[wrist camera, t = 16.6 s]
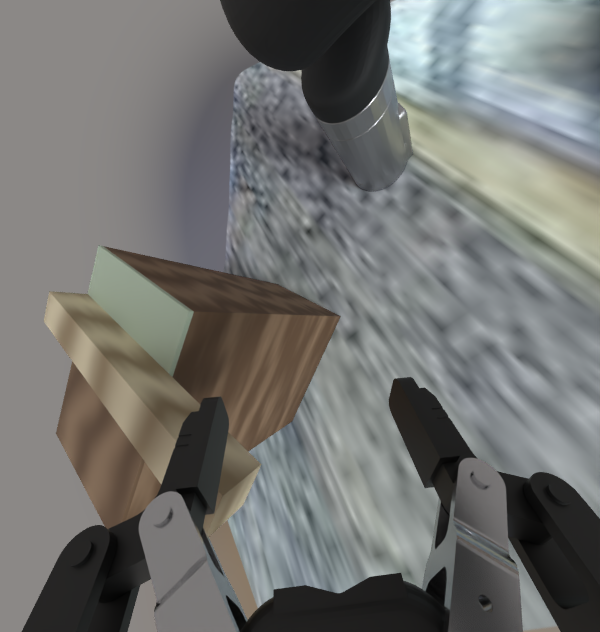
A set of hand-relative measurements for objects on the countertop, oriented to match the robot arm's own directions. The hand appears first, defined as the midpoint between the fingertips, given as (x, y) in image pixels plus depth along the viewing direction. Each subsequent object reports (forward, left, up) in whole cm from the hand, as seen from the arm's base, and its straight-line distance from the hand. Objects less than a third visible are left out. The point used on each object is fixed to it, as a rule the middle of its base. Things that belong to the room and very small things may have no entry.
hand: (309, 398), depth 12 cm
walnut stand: (+21, -11, -33) cm, 41 cm away
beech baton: (+14, -9, -1) cm, 16 cm away
